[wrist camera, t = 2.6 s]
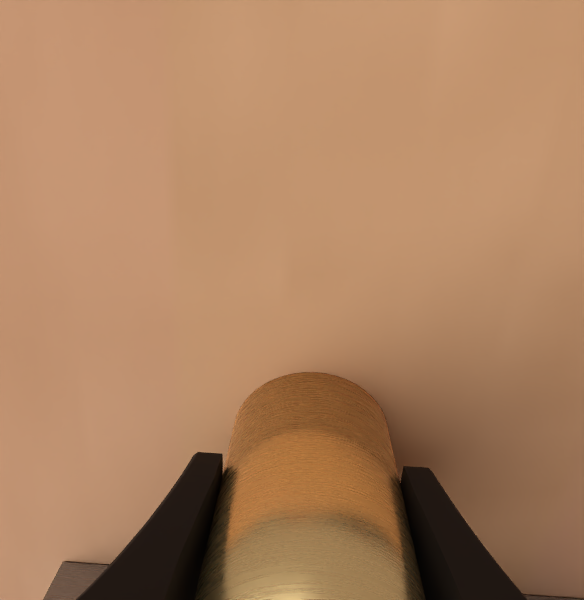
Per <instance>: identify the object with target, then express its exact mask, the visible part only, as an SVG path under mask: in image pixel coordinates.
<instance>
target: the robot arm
mask: <svg viewBox="0 0 584 600" xmlns="http://www.w3.org/2000/svg"><path fill="white" fill-rule="evenodd" d="M222 476H223V463H222V454H218V453H203V452H198V453H196V454H195V455H194V456H193V457H192V459H191V461H190V462H189V464H188V465H187V467H186V469H185V470H184V472H183V473H182V475H181V476H180V478H179V479H178V481H177V482H176V484H175V485H174V486H173V488H172V489H171V491H170V492H169V493H168V495H167V496H166V498H165V499H164V500H163V501H162V503H161V504H160V505H159V507H158V508H157V509H156V511H155V512H154V513H153V515H152V516H151V517H150V519H149V520H148V521H147V522H146V524H145V525H144V526H143V527H142V528H141V530H140V531H139V532H138V533H137V534H136V536H135V537H134V538H133V539H132V540H131V541H130V543H129V544H128V545H127V546H126V547H125V548H124V550H123V551H122V552H121V553H120V554H119V555H118V556H117V558H116V559H115V560H114V561H113V562H112V563H111V564H110V565H109V566H108V567H107V568H106V570H105V571H104V572H103V573H102V574H101V575H100V576H99V577H98V578H97V579H96V580H95V581H94V582H93V583H92V584H91V585H90V586H89V587H88V588H87V589H86V590H85V591H84V592H83V593H82V594H81V595H80V596H79V597H78V598H77V599H76V600H194V599H195V595H196V590H197V586H198V581H199V577H200V573H201V568H202V564H203V559H204V555H205V551H206V546H207V542H208V538H209V533H210V529H211V524H212V520H213V516H214V511H215V507H216V503H217V498H218V494H219V489H220V485H221V481H222ZM400 486H401V490H402V495H403V499H404V504H405V508H406V513H407V517H408V522H409V526H410V531H411V535H412V540H413V545H414V549H415V554H416V558H417V563H418V567H419V572H420V576H421V581H422V585H423V590H424V595H425V599H426V600H527V599H526V597H525V596H524V595H523V594H522V593H521V592H520V590H519V589H518V588H517V587H516V586H515V585H514V583H513V582H512V581H511V580H510V578H509V577H508V576H507V575H506V574H505V572H504V571H503V570H502V569H501V567H500V566H499V565H498V564H497V563H496V561H495V560H494V559H493V557H492V556H491V555H490V554H489V552H488V551H487V550H486V548H485V547H484V546H483V544H482V543H481V542H480V540H479V539H478V538H477V536H476V535H475V534H474V532H473V531H472V530H471V528H470V527H469V525H468V524H467V523H466V521H465V520H464V518H463V517H462V516H461V514H460V513H459V511H458V510H457V508H456V507H455V506H454V504H453V503H452V501H451V500H450V498H449V497H448V495H447V494H446V492H445V491H444V489H443V488H442V486H441V485H440V483H439V482H438V480H437V479H436V477H435V475H434V474H433V472H432V471H431V470H430V469H429V468H422V467H407V466H404V468H403V473H402V478H401V483H400Z"/></svg>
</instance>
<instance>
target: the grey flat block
mask: <svg viewBox="0 0 584 600" xmlns="http://www.w3.org/2000/svg"><path fill="white" fill-rule="evenodd" d="M108 566H109V565H97V564H83V563H69V562H62V564H61V566H60V568H59V570H58V572H57V574H56V576H55V578H54V580H53V582H52V583H51V585H50V587H49V589H48V591H47V593H46V595H45V597H44V599H43V600H76V599H77V598H78V597H79V596H80V595H81V594H82V593H83V592H84V591H85V590H86V589H87V588H88V587H89V586H90V585H91V584H92V583H93V582H94V581H95V580H96V579H97V578H98V577H99V576H100V575H101V574H102V573H103V572H104V571H105V570H106V568H107V567H108ZM524 596H525V597H526V599H527V600H584V599H571V598H557V597H543V596H529V595H524Z"/></svg>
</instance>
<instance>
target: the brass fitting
mask: <svg viewBox="0 0 584 600" xmlns="http://www.w3.org/2000/svg"><path fill="white" fill-rule="evenodd" d="M194 600H426V599H425V595H424V590H423V585H422V581H421V576H420V572H419V567H418V563H417V558H416V554H415V549H414V545H413V540H412V535H411V531H410V526H409V522H408V517H407V513H406V508H405V504H404V499H403V495H402V490H401V486H400V481H399V476H398V472H397V467H396V463H395V458H394V454H393V449H392V445H391V440H390V436H389V431H388V427H387V423H386V419H385V416H384V414H383V412H382V410H381V408H380V407H379V405H378V403H377V402H376V401H375V400H374V399H373V398H372V396H370V395H369V394H368V393H367V392H366V391H365V390H363V389H362V388H360V387H359V386H357V385H356V384H354V383H352V382H350V381H348V380H346V379H343V378H340V377H337V376H333V375H329V374H323V373H296V374H291V375H286V376H282V377H279V378H277V379H274V380H272V381H270V382H268V383H266V384H264V385H262V386H261V387H259V388H258V389H257V390H255V391H254V392H253V393H252V394H251V395H250V396H249V397H248V398H247V399H246V400H245V402H244V403H243V405H242V406H241V408H240V409H239V412H238V414H237V416H236V420H235V424H234V428H233V432H232V437H231V441H230V445H229V450H228V454H227V459H226V463H225V467H224V472H223V476H222V481H221V485H220V489H219V494H218V498H217V503H216V507H215V511H214V516H213V520H212V524H211V529H210V533H209V538H208V542H207V546H206V551H205V555H204V559H203V564H202V568H201V573H200V577H199V581H198V586H197V590H196V595H195V599H194Z"/></svg>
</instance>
